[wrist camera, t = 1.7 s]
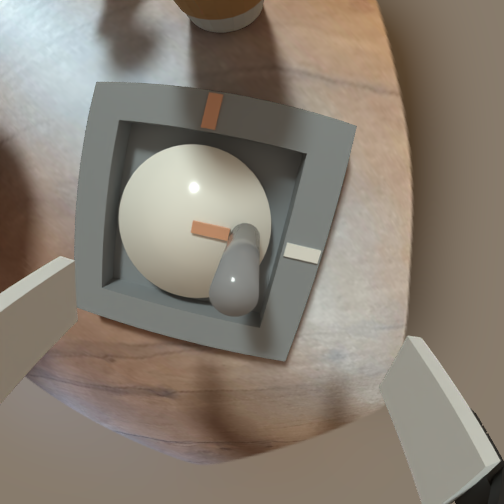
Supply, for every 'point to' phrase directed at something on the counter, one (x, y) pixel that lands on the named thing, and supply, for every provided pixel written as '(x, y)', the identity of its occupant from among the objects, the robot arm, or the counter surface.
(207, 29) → the coffee cup
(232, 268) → the dial
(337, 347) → the counter surface
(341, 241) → the counter surface
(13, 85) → the counter surface
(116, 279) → the dial board
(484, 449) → the robot arm
